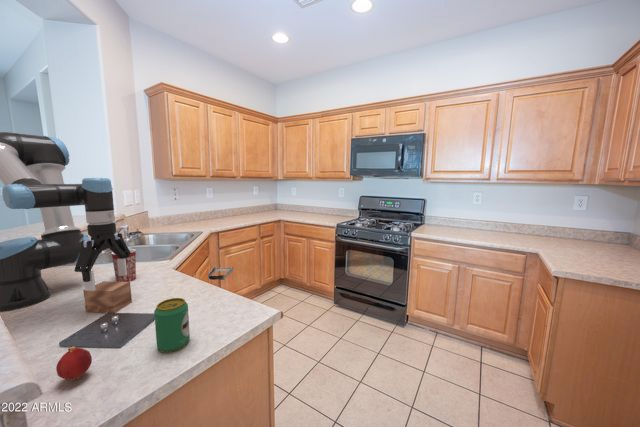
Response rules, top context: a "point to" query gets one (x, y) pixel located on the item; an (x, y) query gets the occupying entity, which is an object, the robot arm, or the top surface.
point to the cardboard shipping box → (108, 297)
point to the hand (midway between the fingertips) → (108, 282)
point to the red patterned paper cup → (130, 266)
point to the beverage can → (172, 324)
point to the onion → (74, 363)
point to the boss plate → (110, 330)
